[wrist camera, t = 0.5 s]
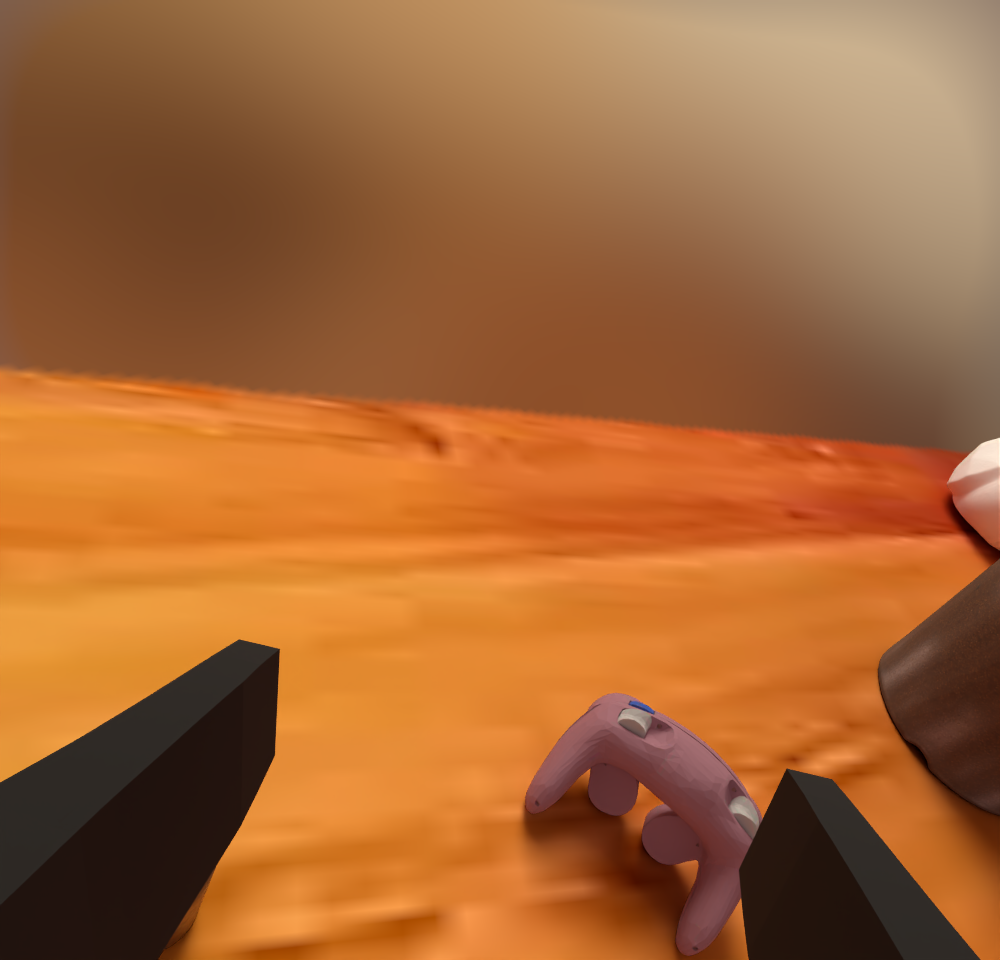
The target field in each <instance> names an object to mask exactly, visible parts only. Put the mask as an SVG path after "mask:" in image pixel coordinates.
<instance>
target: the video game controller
mask: <svg viewBox="0 0 1000 960" xmlns="http://www.w3.org/2000/svg"><path fill="white" fill-rule="evenodd" d="M590 768H591V770H590V778H589V785H588V795H589V798H590V800H591V802H592V803H593V804H594V806H596V807H597V808H598V809H599V810H601V811H602V812H604V813H607V814H609V815H615V816H618V815H623V814H625V813H627V812H628V811H630V810H631V809H632V807H633V806H634V804H635V802H636V799H637V794H638V787H639V782H640V783H642V784H643V785H644V786H645V787H646V788H648V789H649V790H650V791H651V792H652V793H653V794H655V795H656V796H657V797H658V798H659V799H660V800H661V801H663V802H664V803H665V804H663V805H660V806H657V807H655V808H654V809H652V810H651V811H650V812H649V813H648V814H647V816H646V818H645V822H644V826H643V829H642V842H643V845H644V847H645V849H646V851H647V852H648V853H649V855H650V856H651V857H652V858H653V859H655V860H656V861H658V862H659V863H662V864H666V865H674V864H679V863H683V862H686V861H691V860H697V861H698V864H699V867H698V872H697V877H696V881H695V883H694V885H693V887H692V890H691V892H690V894H689V896H688V899H687V901H686V903H685V905H684V908H683V911H682V914H681V917H680V920H679V923H678V927H677V934H676V939H675V941H676V945H677V948H678V949H679V951H680V952H681V953H683V954H684V955H688V956H691V955H694V954H697V953H699V952H700V951H702V950H704V949H705V948H707V947H708V946H709V945H710V944H711V943H712V942H713V940H714V939H715V938H716V937H717V935H718V934H719V932H720V931H721V929H722V928H723V926H724V925H725V923H726V922H727V920H728V919H729V917H730V916H731V914H732V912H733V911H734V909H735V907H736V905H737V904H738V902H739V900H740V899H741V889H740V878H739V868H740V866H741V864H742V862H743V860H744V857H745V855H746V853H747V851H748V849H749V847H750V845H751V843H752V841H753V838H754V836H755V834H756V832H757V830H758V828H759V826H760V824H761V822H762V817H761V813H760V811H759V809H758V807H757V805H756V804H755V802H754V800H753V799H752V798H751V797H750V796H749V794H748V793H747V791H746V789H745V787H744V786H743V784H742V783H741V781H740V780H739V779H738V777H737V776H736V775H735V773H734V772H733V771H732V769H731V768H730V767H729V766H728V765H727V764H726V763H725V762H724V760H723V759H722V758H721V757H720V756H719V755H718V754H717V753H716V752H715V751H714V750H713V749H712V748H710V747H709V746H708V745H707V744H706V743H705V742H704V741H702V740H701V739H700V738H699V737H697V736H696V735H695V734H693V733H692V732H691V731H690V730H688V729H687V728H685V727H684V726H682V725H680V724H679V723H677V722H676V721H674V720H672V719H671V718H669V717H667V716H665V715H663V714H661V713H659V712H657V711H655V710H652V709H651V708H650V707H649V706H647V705H645V704H643V703H642V702H640V701H639V700H637V699H636V698H634V697H631V696H629V695H625V694H619V693H613V694H607V695H605V696H602V697H601V698H599V699H597V700H596V701H595V702H594V703H593V704H592V705H591V706H590V707H589V709H588V711H587V712H586V713H585V714H584V715H583V716H581V717H580V718H579V719H578V720H577V721H576V722H575V723H574V724H573V725H572V726H571V727H570V728H569V729H568V730H567V731H566V732H565V733H564V735H563V736H562V737H561V738H560V739H559V740H558V742H557V743H556V745H555V746H554V748H553V749H552V751H551V752H550V753H549V755H548V756H547V758H546V759H545V761H544V762H543V764H542V765H541V767H540V769H539V770H538V772H537V773H536V775H535V777H534V779H533V780H532V782H531V784H530V786H529V788H528V790H527V793H526V799H525V803H526V809H527V810H528V811H529V812H530V813H532V814H534V813H540V812H542V811H544V810H546V809H547V808H549V807H550V806H551V805H553V804H554V803H555V802H557V801H558V800H559V799H560V798H561V797H562V796H563V795H564V793H565V792H566V791H567V790H568V789H569V788H570V787H571V786H572V785H573V783H574V782H575V781H576V780H577V779H578V778H579V777H580V776H581V775H582V774H584V773H585V772H586V771H587V770H589V769H590Z"/></svg>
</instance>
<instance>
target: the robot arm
mask: <svg viewBox="0 0 1000 960" xmlns="http://www.w3.org/2000/svg"><path fill="white" fill-rule="evenodd" d="M279 653H280V649H277V648H273V647H269V646H265V645H260V644H256V643H252V642H248V641H244V640H237V641H236V642H234V643H233V644H231V645H229V646H228V647H226V648H224V649H223V650H221V651H219V652H218V653H216V654H214V655H213V656H211V657H210V658H208V659H207V660H205V661H203V662H202V663H200V664H199V665H197V666H195V667H194V668H192V669H191V670H189V671H188V672H186V673H184V674H183V675H181V676H180V677H178V678H177V679H175V680H173V681H172V682H170V683H169V684H167V685H165V686H164V687H162V688H161V689H159V690H157V691H156V692H154V693H153V694H151V695H150V696H148V697H146V698H145V699H143V700H142V701H140V702H138V703H137V704H135V705H133V706H132V707H130V708H128V709H127V710H125V711H123V712H122V713H120V714H118V715H117V716H115V717H114V718H112V719H110V720H109V721H107V722H105V723H104V724H102V725H100V726H99V727H97V728H95V729H94V730H92V731H90V732H89V733H87V734H85V735H84V736H82V737H80V738H79V739H77V740H75V741H74V742H72V743H70V744H68V745H67V746H65V747H63V748H61V749H59V750H58V751H56V752H54V753H52V754H50V755H49V756H47V757H45V758H43V759H42V760H40V761H38V762H36V763H34V764H33V765H31V766H29V767H27V768H25V769H24V770H22V771H20V772H18V773H17V774H15V775H13V776H11V777H9V778H8V779H6V780H4V781H2V782H0V960H158V958H159V956H160V955H161V953H162V952H163V950H164V948H165V947H166V945H167V944H168V942H169V940H170V939H171V937H172V936H173V934H174V932H175V931H176V929H177V928H178V926H179V924H180V923H181V921H182V920H183V918H184V917H185V915H186V913H187V912H188V910H189V909H190V907H191V905H192V904H193V902H194V901H195V899H196V897H197V896H198V894H199V893H200V891H201V889H202V888H203V886H204V885H205V883H206V881H207V880H208V878H209V877H210V875H211V873H212V872H213V870H214V868H215V867H216V865H217V864H218V862H219V860H220V859H221V857H222V856H223V854H224V852H225V851H226V849H227V848H228V846H229V844H230V843H231V841H232V839H233V838H234V836H235V834H236V833H237V831H238V829H239V828H240V826H241V824H242V822H243V820H244V818H245V816H246V814H247V812H248V810H249V808H250V806H251V804H252V802H253V800H254V798H255V796H256V794H257V792H258V790H259V788H260V786H261V784H262V781H263V779H264V777H265V775H266V773H267V771H268V769H269V767H270V764H271V762H272V760H273V758H274V756H275V739H276V718H277V696H278V674H279ZM739 878H740V889H741V899H742V909H743V919H744V927H745V935H746V943H747V951H748V957H749V960H980V959H979V957H978V956H977V955H976V954H975V953H974V951H973V950H972V949H971V948H970V947H969V946H968V944H967V943H966V942H965V941H964V940H963V938H962V937H961V936H960V935H959V933H958V932H957V931H956V930H955V929H954V927H953V926H952V925H951V924H950V923H949V921H948V920H947V919H946V918H945V917H944V915H943V914H942V913H941V912H940V911H939V909H938V908H937V907H936V906H935V904H934V903H933V902H932V901H931V900H930V898H929V897H928V896H927V895H926V893H925V892H924V891H923V890H922V889H921V887H920V886H919V885H918V884H917V882H916V881H915V880H914V879H913V877H912V876H911V875H910V874H909V872H908V871H907V870H906V869H905V868H904V866H903V865H902V864H901V863H900V861H899V860H898V859H897V858H896V856H895V855H894V854H893V853H892V851H891V850H890V849H889V848H888V846H887V845H886V844H885V843H884V841H883V840H882V839H881V838H880V837H879V835H878V834H877V833H876V832H875V830H874V829H873V828H872V827H871V825H870V824H869V823H868V822H867V820H866V819H865V818H864V817H863V816H862V814H861V813H860V812H859V811H858V809H857V808H856V807H855V806H854V805H853V803H852V802H851V801H850V800H849V799H848V797H847V796H846V795H845V794H844V793H843V791H842V790H841V789H840V788H839V787H838V786H837V784H836V783H835V782H834V781H833V780H832V779H828V778H824V777H820V776H816V775H811V774H807V773H803V772H799V771H794V770H790V769H786V771H785V773H784V775H783V778H782V780H781V782H780V784H779V786H778V788H777V790H776V792H775V794H774V796H773V799H772V801H771V803H770V805H769V807H768V809H767V811H766V813H765V815H764V817H763V820H762V822H761V824H760V826H759V828H758V830H757V832H756V834H755V836H754V838H753V841H752V843H751V845H750V847H749V849H748V851H747V853H746V855H745V857H744V860H743V862H742V864H741V866H740V868H739Z"/></svg>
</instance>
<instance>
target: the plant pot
mask: <svg viewBox="0 0 1000 960" xmlns="http://www.w3.org/2000/svg"><path fill="white" fill-rule="evenodd" d="M878 674H879V684H880V688H881V692H882V695H883V698H884V701H885V704H886V706H887V709H888V711H889V713H890V715H891V717H892V719H893V721H894V723H895V725H896V727H897V728H898V730H899V731H900V733H901V735H902V736H903V738H904V739H905V740H906V741H908V742H910V743H912V744H914V745H916V746H917V747H918V748H919V749H920V750H921V751H922V753H923V754H924V756H925V758H926V759H927V762H928V768H929V770H930V771H931V772H932V773H933V774H934V775H935V776H936V777H937V778H938V779H940V780H941V781H942V782H943V783H945V784H946V785H947V786H948V787H949V788H951V789H952V790H953V791H954V792H956V793H957V794H958V795H960V796H961V797H963V798H964V799H966V800H967V801H969V802H970V803H972V804H974V805H976V806H977V807H979V808H981V809H983V810H986V811H988V812H990V813H993V814H996V815H999V816H1000V559H999V560H998V561H996V562H995V563H994V564H993V565H991V566H990V567H989V568H988V569H987V570H985V571H984V572H983V573H982V574H981V575H979V576H978V577H977V578H976V579H975V580H973V581H972V582H971V583H970V584H969V585H967V586H966V587H965V588H964V589H962V590H961V591H960V592H959V593H958V594H956V595H955V596H954V597H953V598H952V599H950V600H949V601H948V602H947V603H945V604H944V605H943V606H942V607H941V608H939V609H938V610H937V611H936V612H934V613H933V614H932V615H931V616H930V617H928V618H927V619H926V620H925V621H923V622H922V623H921V624H920V625H919V626H917V627H916V628H915V629H914V630H912V631H911V632H910V633H909V634H907V635H906V636H905V637H904V638H902V639H901V640H900V641H898V642H897V643H896V644H894V645H893V646H892V647H891V648H890V649H888V650H887V651H886V652H885V653H884V654H883V656H882V657H881V659H880V663H879V668H878Z"/></svg>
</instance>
